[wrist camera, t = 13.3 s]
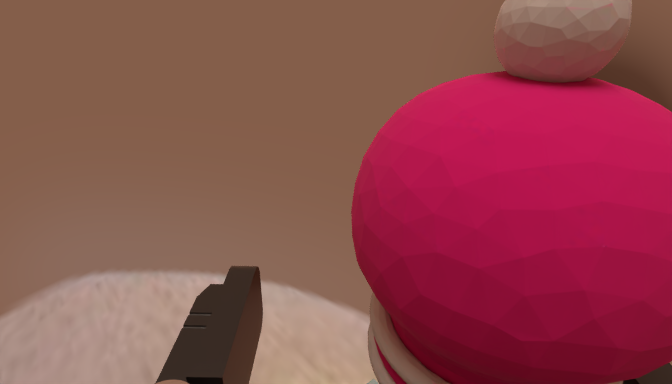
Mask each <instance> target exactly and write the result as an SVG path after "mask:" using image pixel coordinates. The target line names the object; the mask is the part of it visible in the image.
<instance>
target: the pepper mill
mask: <svg viewBox="0 0 672 384" xmlns="http://www.w3.org/2000/svg"><path fill="white" fill-rule="evenodd" d="M631 11H632V1H631V0H506V1H505V2H504V3H503V5H502V6H501V9H500V12H499V15H498V18H497V21H496V24H495V32H494V45H495V49H496V52H497V55H498V59H499V61H500V63H501V64H502V65H503V67H504V68H505V70H506V71H503V72H494V73H486V74H476V75H470V76H466V77H463V78H460V79H456V80H452V81H449V82H445V83H442V84H440V85H438V86H436V87H434V88H432V89H430V90H427V91H425V92H423V93H421V94H419V95H417V96H416V97H415V98H413V99H412V100H410V101H409V102H408V103H406V104H405V105H404V106H402V107H401V108H400V109H398V110H397V111H396V112H395V113H394V114H393V116H392V117H391V118H390V119H389V120H388V121H387V122H386V124H385V125H384V126H383V127H382V128H381V129H380V130H379V132H378V133H377V135H376V137H375V138H374V140H373V142H372V144H371V145H370V147H369V149H368V150H367V152H366V154H365V155H364V157H363V161H362V164H361V167H360V170H359V173H358V176H357V180H356V183H355V189H354V196H353V202H352V211H351V214H352V236H353V242H354V247H355V252H356V257H357V261H358V264H359V266H360V269H361V271H362V272H363V274H364V276H365V278H366V280H367V282H368V283H369V285H370V287H371V289H372V291H373V294H372V297H371V303H370V325H369V330H368V351H369V357H370V361H371V365H372V368H373V371H374V373H375V375H376V378H377V380H378V382H379V384H623V381H624V380H629V379H635V378H639V377H641V376H643V375H645V374H647V373H649V372H651V371H653V370H655V369H657V368H659V367H661V366H663V365H665V364H667V363H669V362H671V361H672V112H670V111H669V110H668V109H666V108H665V107H663V106H662V105H660V104H658V103H656V102H654V101H652V100H650V99H648V98H646V97H644V96H642V95H640V94H638V93H636V92H634V91H632V90H629V89H626V88H623V87H620V86H617V85H614V84H611V83H608V82H605V81H602V80H599V79H595V78H589V77H591V76H592V75H594V74H596V73H597V72H598V71H600V70H601V69H602V68H603V67H604V66H605V65H607V64H608V62H609V61H610V60H611V59H612V58H613V57H614V56H615V55H616V54H617V52H618V51H619V49H620V48H621V46H622V45H623V43H624V42H625V40H626V37H627V34H628V31H629V28H630V24H631Z"/></svg>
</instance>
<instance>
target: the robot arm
mask: <svg viewBox="0 0 672 384" xmlns="http://www.w3.org/2000/svg"><path fill="white" fill-rule="evenodd" d="M262 318H263V307H262V294H261V282H260V271H259V268H258V267H256V266H253V267H252V266H231V268H230V269H229V272H228V274H227V276H226V279H225V281H224V284H210V285H209V286H208V287H207V288H206V289H205V290H204V291H203V292H202V293H201V294H200V295H199V296H197V298H196V300H195V302H194V304H193V306H192V308H191V310H190V314H189V315H188V317H187V319H186V321H185V323H184V327H183V328H182V329H181V331H180V333H179V336H178V338H177V340H176V342H175V344H174V346H173V348H172V350H171V352H170V354H169V357H168V359H167V361H166V363H165V365H164V367H163V369H162V371H161V373H160V375H159V378H158V379H157V381H156V383H155V384H249V380H250V376H251V371H252V367H253V363H254V359H255V354H256V350H257V346H258V341H259V337H260V333H261V327H262ZM623 384H672V365H671V364H670V363H667V364H665V365H663V366H661V367H659V368H657V369H655V370H653V371H651V372H649V373H647V374H645V375H643V376H641V377H639V378H635V379H629V380H624V381H623Z"/></svg>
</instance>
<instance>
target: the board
mask: <svg viewBox="0 0 672 384" xmlns="http://www.w3.org/2000/svg"><path fill="white" fill-rule="evenodd" d="M367 384H378V383H377V382H376V381H375V380H374V379H373V380H371V381H370V382H369V383H367Z"/></svg>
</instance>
